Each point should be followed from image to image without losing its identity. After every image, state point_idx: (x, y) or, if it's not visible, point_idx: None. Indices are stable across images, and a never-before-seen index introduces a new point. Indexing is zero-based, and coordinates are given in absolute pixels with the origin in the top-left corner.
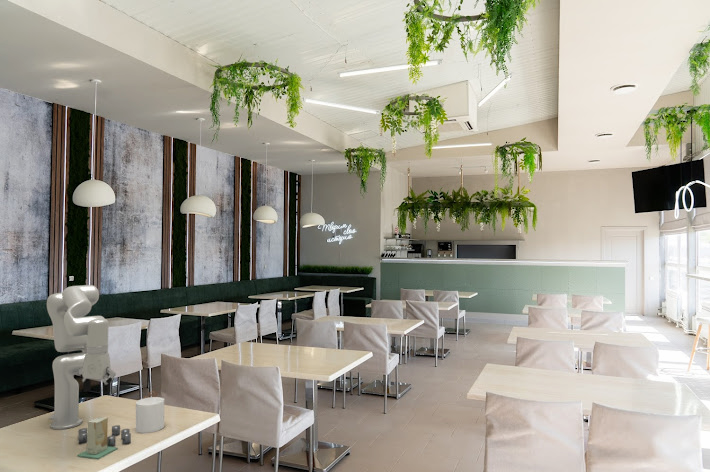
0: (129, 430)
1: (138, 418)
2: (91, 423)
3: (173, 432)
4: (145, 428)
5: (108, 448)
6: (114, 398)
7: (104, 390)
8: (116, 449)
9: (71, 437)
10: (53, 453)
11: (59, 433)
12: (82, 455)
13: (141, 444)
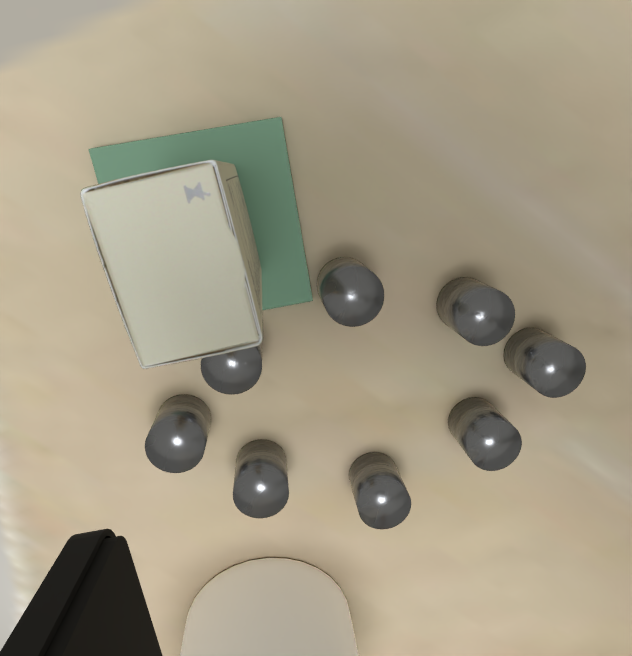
0: (239, 507)
1: (277, 630)
2: (160, 169)
3: None
4: (223, 590)
5: None
6: None
7: (30, 619)
8: None
9: (605, 326)
10: (488, 86)
11: None
12: (236, 128)
13: (73, 446)
